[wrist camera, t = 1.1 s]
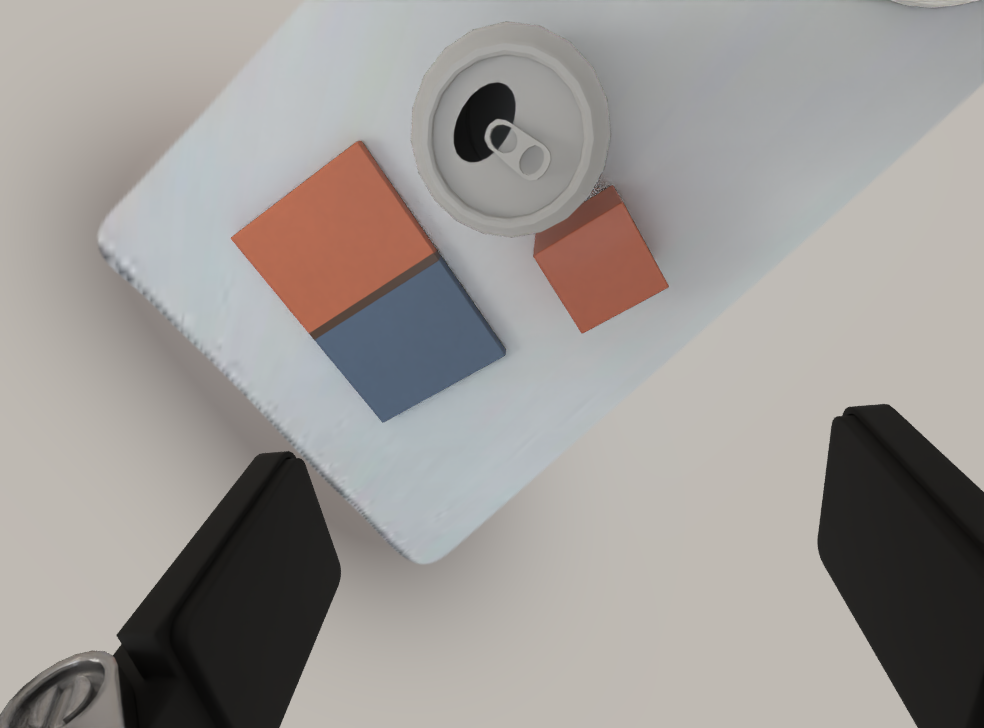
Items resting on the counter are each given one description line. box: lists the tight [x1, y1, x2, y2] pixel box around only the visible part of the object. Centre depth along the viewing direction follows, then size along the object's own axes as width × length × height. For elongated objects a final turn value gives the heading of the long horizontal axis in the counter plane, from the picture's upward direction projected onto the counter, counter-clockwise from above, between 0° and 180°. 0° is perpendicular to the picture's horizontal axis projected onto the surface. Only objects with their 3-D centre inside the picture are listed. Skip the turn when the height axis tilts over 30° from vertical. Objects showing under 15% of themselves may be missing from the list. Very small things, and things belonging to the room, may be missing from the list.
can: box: [411, 22, 611, 238], centre depth 25 cm, size 8×8×12 cm
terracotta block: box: [533, 185, 669, 333], centre depth 31 cm, size 5×5×5 cm
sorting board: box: [231, 141, 506, 422], centre depth 35 cm, size 10×15×1 cm, turn 33°
